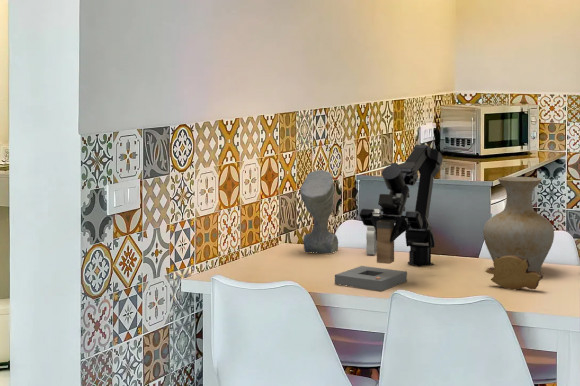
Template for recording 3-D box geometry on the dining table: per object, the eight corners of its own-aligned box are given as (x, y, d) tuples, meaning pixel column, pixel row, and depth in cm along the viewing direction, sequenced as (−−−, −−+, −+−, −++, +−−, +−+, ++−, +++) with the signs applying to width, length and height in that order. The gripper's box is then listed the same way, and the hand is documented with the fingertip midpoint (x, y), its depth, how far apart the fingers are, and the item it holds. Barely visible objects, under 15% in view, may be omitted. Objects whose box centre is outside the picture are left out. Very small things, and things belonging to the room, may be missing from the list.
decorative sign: (374, 262, 299) (373, 221, 296) (366, 262, 299) (366, 221, 296) (380, 244, 321) (380, 206, 318) (373, 244, 322) (373, 206, 318)
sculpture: (339, 247, 315) (339, 167, 312) (332, 259, 293) (332, 173, 290) (307, 246, 317) (307, 167, 314) (298, 258, 295) (297, 173, 292)
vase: (494, 262, 285) (496, 174, 281) (560, 268, 274) (563, 177, 270) (473, 274, 266) (475, 180, 263) (543, 281, 255) (545, 183, 252)
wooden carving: (543, 289, 245) (544, 256, 244) (540, 293, 241) (541, 259, 240) (487, 284, 253) (488, 251, 251) (483, 287, 249) (484, 254, 247)
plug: (381, 260, 255) (381, 219, 254) (394, 261, 253) (394, 220, 252) (376, 262, 252) (376, 221, 250) (389, 263, 250) (389, 222, 248)
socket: (361, 275, 267) (361, 264, 267) (406, 281, 258) (406, 270, 257) (334, 284, 254) (334, 273, 254) (381, 291, 245) (381, 279, 244)
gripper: (361, 182, 258) (347, 223, 249) (420, 184, 249) (407, 227, 241) (371, 204, 265) (357, 244, 257) (428, 207, 257) (416, 249, 249)
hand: (383, 241), depth 251 cm, fingers closed on plug, 4 cm apart
